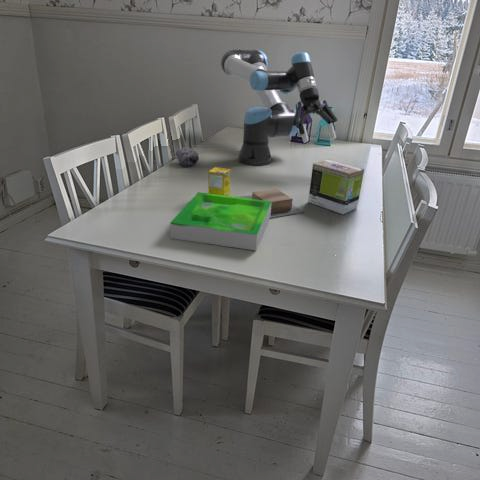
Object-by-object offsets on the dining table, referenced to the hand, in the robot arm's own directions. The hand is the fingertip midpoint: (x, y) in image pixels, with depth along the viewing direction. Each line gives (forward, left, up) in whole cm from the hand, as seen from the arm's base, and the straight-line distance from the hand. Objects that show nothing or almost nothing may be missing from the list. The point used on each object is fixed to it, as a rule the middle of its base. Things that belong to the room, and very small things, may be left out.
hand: (320, 140), depth 170 cm
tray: (+30, -57, -16) cm, 66 cm away
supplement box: (+9, -49, -16) cm, 52 cm away
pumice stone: (-33, -45, -16) cm, 58 cm away
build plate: (+20, -35, -16) cm, 43 cm away
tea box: (+28, -13, -16) cm, 35 cm away
